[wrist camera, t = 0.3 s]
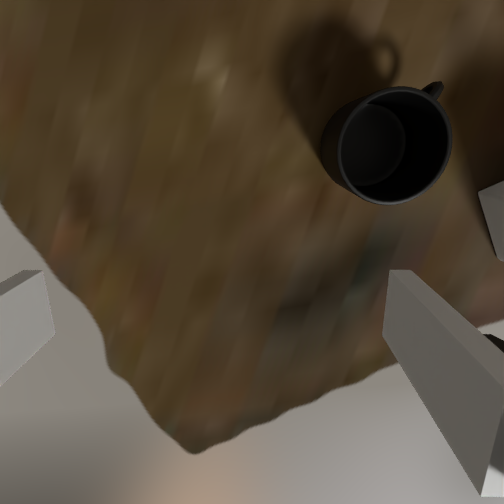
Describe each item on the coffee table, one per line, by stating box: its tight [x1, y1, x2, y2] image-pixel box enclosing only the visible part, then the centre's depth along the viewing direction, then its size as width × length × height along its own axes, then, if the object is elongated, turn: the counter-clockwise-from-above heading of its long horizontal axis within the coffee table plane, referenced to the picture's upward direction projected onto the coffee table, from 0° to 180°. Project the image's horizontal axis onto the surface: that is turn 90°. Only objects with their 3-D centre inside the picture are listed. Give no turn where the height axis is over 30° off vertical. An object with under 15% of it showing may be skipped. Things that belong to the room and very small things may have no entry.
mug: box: [320, 81, 452, 205], centre depth 33 cm, size 9×12×9 cm
